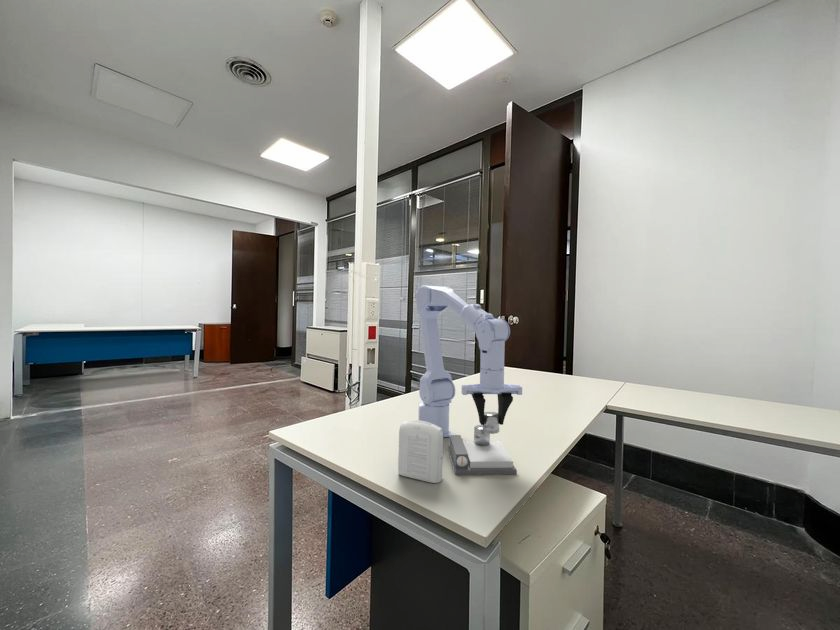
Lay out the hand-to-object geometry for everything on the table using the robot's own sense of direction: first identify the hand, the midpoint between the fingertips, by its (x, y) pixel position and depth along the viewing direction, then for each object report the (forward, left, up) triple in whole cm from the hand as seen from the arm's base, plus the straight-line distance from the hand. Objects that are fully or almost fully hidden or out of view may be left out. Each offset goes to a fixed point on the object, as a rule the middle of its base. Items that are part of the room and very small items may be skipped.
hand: (491, 423), depth 80 cm
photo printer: (-18, -7, -10) cm, 21 cm away
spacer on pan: (-1, +5, -7) cm, 9 cm away
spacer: (0, 0, -2) cm, 2 cm away
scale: (-3, 0, -10) cm, 10 cm away
